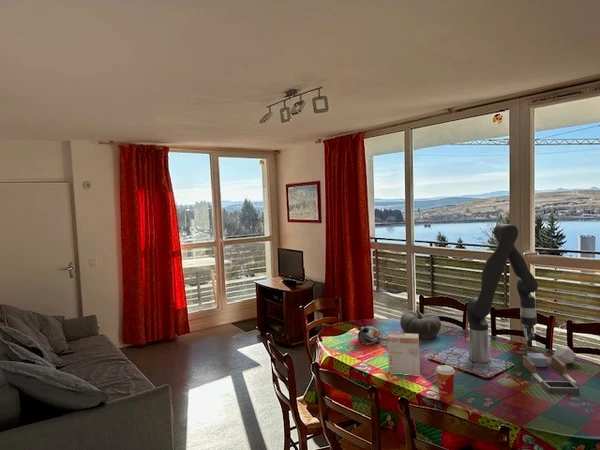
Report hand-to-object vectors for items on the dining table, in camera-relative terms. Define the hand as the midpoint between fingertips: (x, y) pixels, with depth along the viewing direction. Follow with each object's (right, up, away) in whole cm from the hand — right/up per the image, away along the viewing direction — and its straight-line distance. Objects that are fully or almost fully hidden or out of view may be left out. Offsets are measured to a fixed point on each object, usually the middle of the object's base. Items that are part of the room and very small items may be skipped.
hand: (529, 346), depth 217 cm
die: (+12, -5, -10) cm, 17 cm away
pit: (-8, -8, -38) cm, 40 cm away
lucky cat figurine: (-80, -8, +32) cm, 87 cm away
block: (-2, -6, -10) cm, 12 cm away
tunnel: (-3, -6, -18) cm, 19 cm away
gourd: (-47, -6, +41) cm, 62 cm away
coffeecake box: (-71, -10, -13) cm, 73 cm away
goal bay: (-5, -7, -28) cm, 29 cm away
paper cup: (-61, -11, -42) cm, 74 cm away
